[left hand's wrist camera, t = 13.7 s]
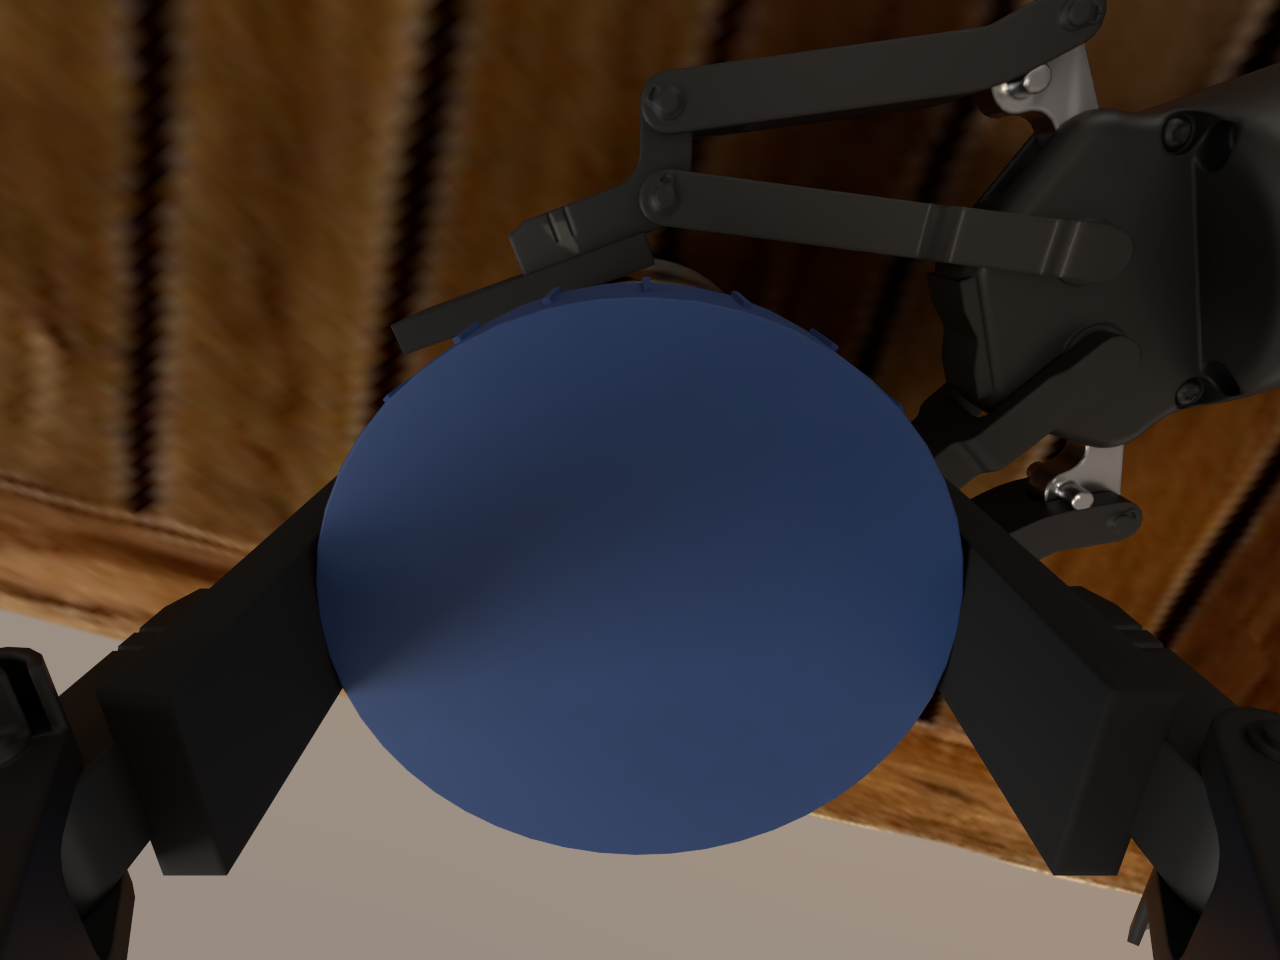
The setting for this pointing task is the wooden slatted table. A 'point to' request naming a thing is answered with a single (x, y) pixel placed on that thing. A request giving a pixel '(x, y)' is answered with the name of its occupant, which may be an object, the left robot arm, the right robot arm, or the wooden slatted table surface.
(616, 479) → the lid
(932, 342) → the wooden slatted table surface
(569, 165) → the wooden slatted table surface
